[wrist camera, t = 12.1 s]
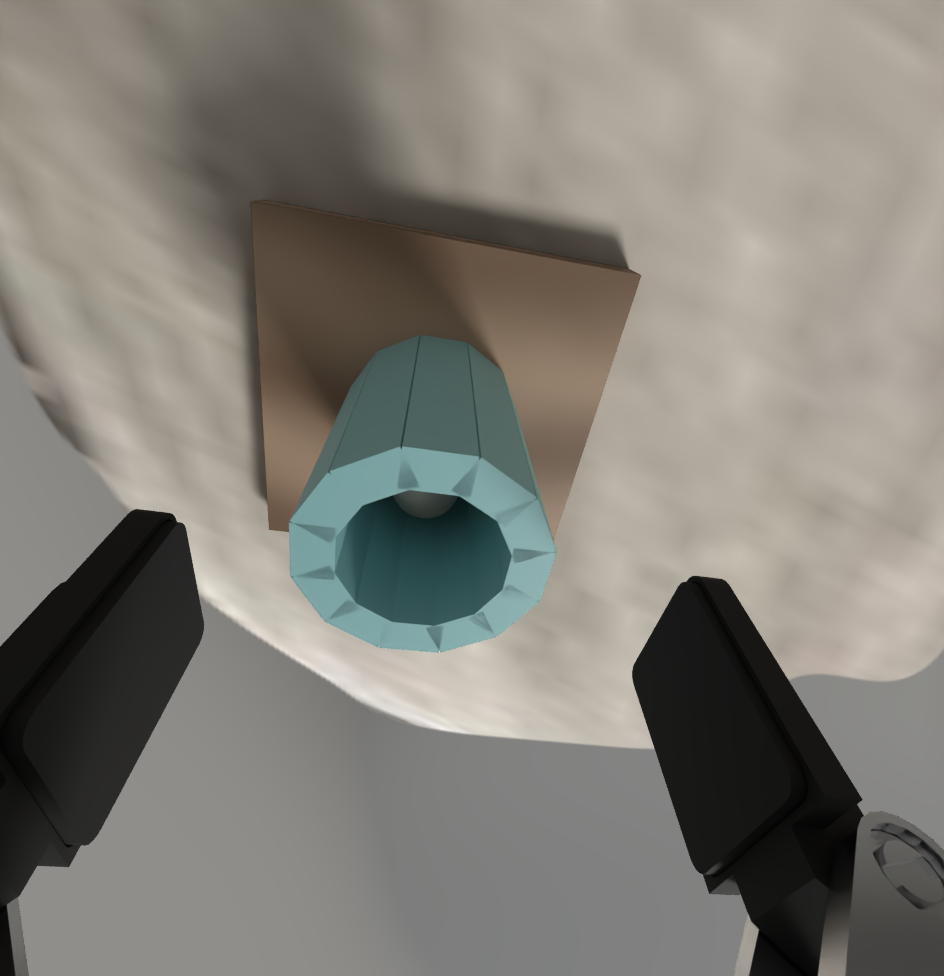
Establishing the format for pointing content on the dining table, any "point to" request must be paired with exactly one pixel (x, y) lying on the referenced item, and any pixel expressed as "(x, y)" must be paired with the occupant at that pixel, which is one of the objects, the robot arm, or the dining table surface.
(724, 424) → the dining table surface
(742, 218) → the dining table surface
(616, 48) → the dining table surface
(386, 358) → the sleeve
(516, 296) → the pin board
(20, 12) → the dining table surface
